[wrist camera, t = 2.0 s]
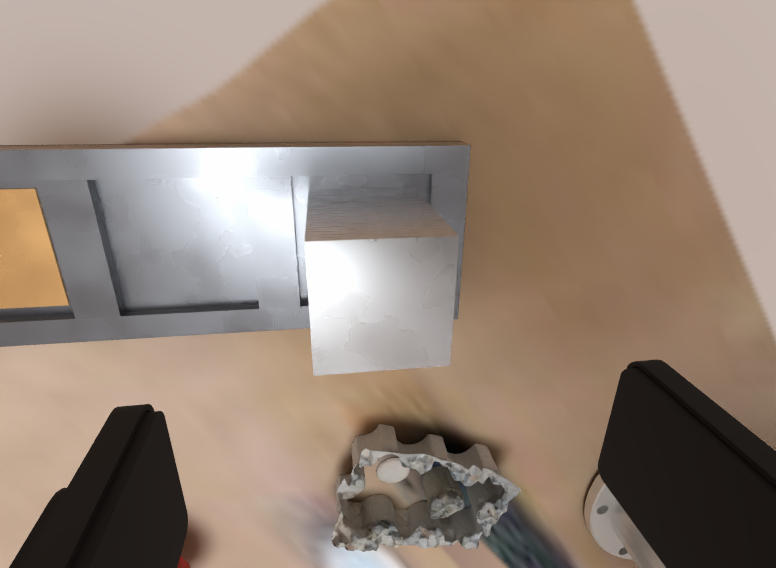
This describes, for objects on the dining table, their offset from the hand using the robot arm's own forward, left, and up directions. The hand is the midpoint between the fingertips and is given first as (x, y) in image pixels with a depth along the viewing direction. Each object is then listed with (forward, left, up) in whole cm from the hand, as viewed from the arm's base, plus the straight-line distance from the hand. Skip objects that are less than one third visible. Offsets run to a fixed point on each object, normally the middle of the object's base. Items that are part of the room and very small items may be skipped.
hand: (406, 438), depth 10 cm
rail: (+8, 0, -16) cm, 18 cm away
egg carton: (-4, +17, -16) cm, 24 cm away
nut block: (0, 0, -15) cm, 15 cm away
